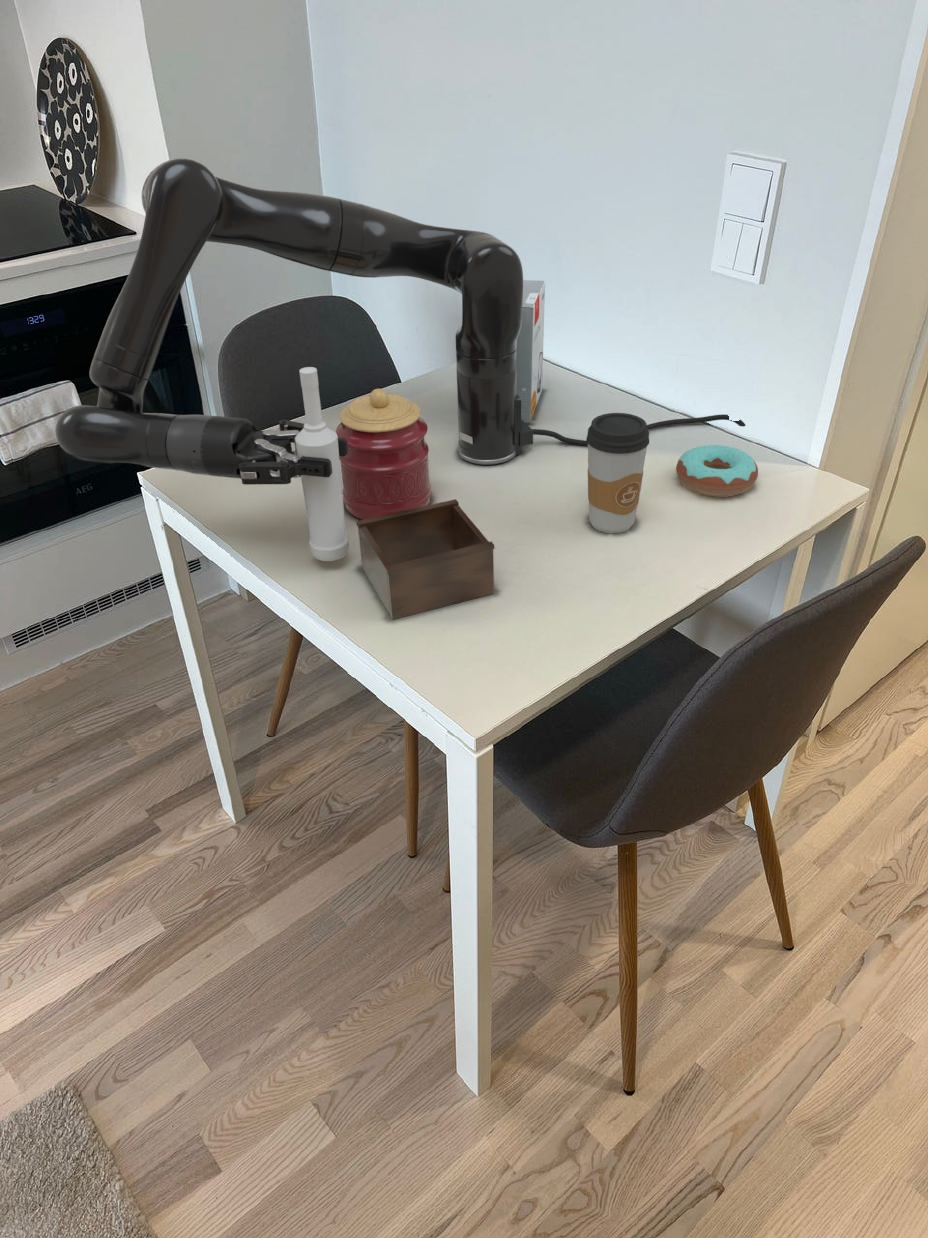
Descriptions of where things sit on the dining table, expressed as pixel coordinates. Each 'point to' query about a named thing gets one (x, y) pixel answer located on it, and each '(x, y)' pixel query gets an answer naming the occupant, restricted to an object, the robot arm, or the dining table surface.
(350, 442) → the kitchen canister
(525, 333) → the hard drive box
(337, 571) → the dining table surface
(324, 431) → the bottle
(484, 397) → the robot arm
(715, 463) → the donut
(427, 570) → the crate
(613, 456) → the coffee cup
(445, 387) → the dining table surface
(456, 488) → the dining table surface
